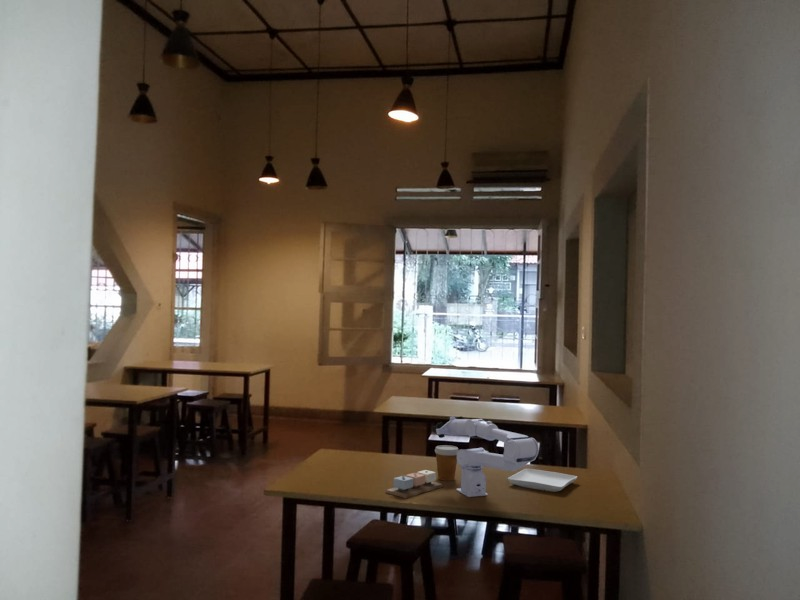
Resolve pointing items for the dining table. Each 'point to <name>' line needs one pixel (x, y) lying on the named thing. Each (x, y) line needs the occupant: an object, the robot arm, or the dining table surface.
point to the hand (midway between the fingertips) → (441, 426)
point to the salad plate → (542, 480)
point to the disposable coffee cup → (446, 461)
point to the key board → (414, 489)
